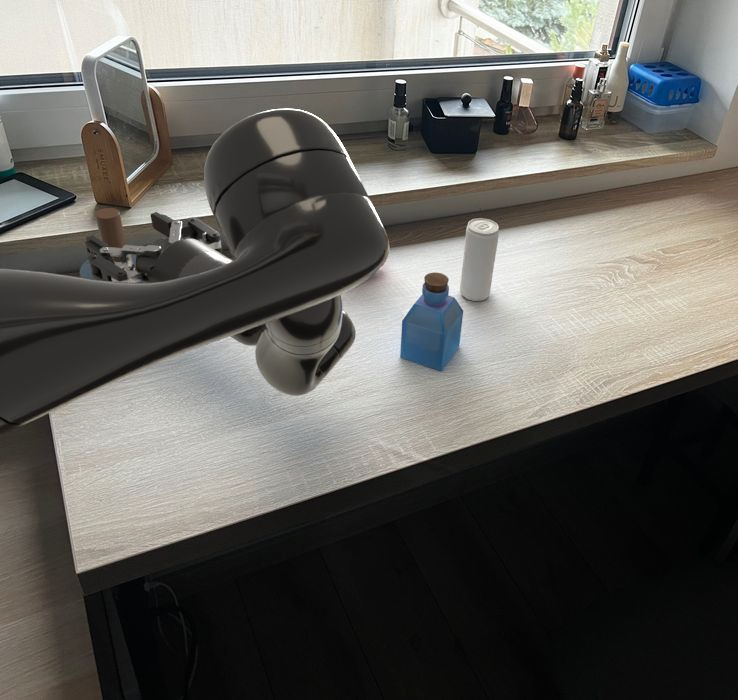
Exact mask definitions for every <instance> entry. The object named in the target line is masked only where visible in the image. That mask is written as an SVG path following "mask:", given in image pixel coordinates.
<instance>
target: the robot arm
mask: <svg viewBox="0 0 738 700" xmlns="http://www.w3.org/2000/svg"><path fill="white" fill-rule="evenodd" d="M203 186H204V191H205V195H206V198H207V202H208V206H209V208H210V211H211V212H212V215H213V217H214V219H215V221H216V223H217V225H218V228H219V230H220V232H221V233H220V232H219V231H217V230H216V229H214V228H212V227H211V226H209V225H208V224H206V223H205V222H203V221H202V220H200V219H199V218H197V217H193V216H192V217H188V218H187V221H185V222H183V221H181V220H179V219H173V218H171V217H169V216H168V215H166V214H162V213H160V212H157V211H155V212H152V213H150V220H151V225H152V228H153V229H154V230H156V231H157V232H159V233H160V234H162V235H163V236H165V237H166V238H164V237H162V238H159V239H157V240H155V241H153V242H151V243H147V244H144V245H132V244H127V245H124V246H123V247H122V248H114V247H109V245H107V244H106V243H104V242H103V241H101V238H98V237H97V236H95V235H93V234H91V235H87V236H85V240H86V241H84V244H85V248H86V252H87V255H88V256H87V260H89V262H90V266H91V269H92V275H93V277H94V278H96V279H98V280H94V279H87V278H81V277H80V276H74V275H67V274H60V273H54V272H53V273H52V272H46V271H39V270H38V271H36V270H26V269H18V268H16V269H15V268H0V436H2V435H4V434H6V433H9V432H11V431H13V430H15V429H17V428H20V427H23V426H25V425H26V424H29V423H31V422H33V421H36V420H38V419H40V418H41V417H44V416H46V415H48V414H50V413H52V412H54V411H56V410H59V409H61V408H62V407H65V406H67V405H69V404H71V403H73V402H75V401H78V400H80V399H82V398H84V397H86V396H89V395H91V394H93V393H95V392H98V391H99V390H101V389H103V388H106V387H108V386H110V385H112V384H114V383H117V382H119V381H122V380H123V379H125V378H128V377H131V376H132V375H134V374H137V373H139V372H142V371H143V370H145V369H149V368H150V367H153V366H155V365H157V364H161V363H162V362H164V361H168V360H170V359H172V358H175V357H177V356H180V355H182V354H185V353H188V352H190V351H193V350H196V349H198V348H201V347H204V346H207V345H210V344H212V343H216V342H219V341H221V340H224V339H227V338H229V337H230V338H232V339H233V340H235V341H237V343H240V344H242V345H245V346H250V347H255V351H254V353H255V354H254V355H255V361H256V365H257V369H258V370H259V373H260V375H261V376H262V377H263V379H264V380H265V381H266V382H267V384H269V385H270V386H271V387H272V388H273V389H275V391H278V392H280V393H281V394H284V395H286V396H291V397H301V396H302V397H303V396H305V395H308V394H310V393H311V392H313V391H314V390H315V389H316V388H317V387H318V386H320V384H321V383H322V382H323V381H324V379H325V378H326V377H327V376H328V374H330V372H331V371H332V370H333V369H334V367H335V366H336V365H337V364H339V362H340V361H341V359H343V357H344V356H345V355H346V354H347V353H348V351H349V350H350V349H351V348H352V346H353V345H354V343H355V340H356V334H357V332H356V327H355V324H354V321H353V320H352V317H350V315H349V314H348V313H347V312H346V311H345V310H344V301H343V294H344V293H346V292H348V291H350V290H352V289H354V288H357V286H359V285H361V284H362V283H364V282H365V281H367V280H368V279H370V278H371V277H372V276H374V275H375V274H376V273H377V272H378V271H379V270H380V269H381V268H382V267H383V266H384V265H385V263H386V262H387V260H386V259H388V258H387V257H389V254H390V249H391V246H390V239H389V237H388V234H387V230H386V229H385V227H384V225H383V223H382V221H381V218H380V217H379V214H378V212H377V209H375V206H374V204H373V202H372V201H371V198H370V197H369V194H368V193H367V190H366V188H365V186H364V184H363V182H362V181H361V177H360V176H359V174H358V173H357V169H355V166H354V164H353V162H352V159H351V157H350V155H349V154H348V152H347V150H346V148H345V147H344V144H343V143H342V142H341V140H340V138H339V137H338V136H337V134H336V133H335V132H334V130H333V129H332V128H331V127H330V126H329V125H328V124H327V123H326V122H325V121H324V120H323V119H321V118H319V117H318V116H316V115H314V114H313V113H312V112H311V113H310V112H308V111H304V110H303V109H302V110H301V109H295V108H277V109H270V110H269V109H268V110H266V111H262V112H258V113H254V114H252V115H249V116H247V117H245V118H243V119H241V120H240V121H238V122H236V123H234V124H232V125H231V126H230V127H229V128H227V129H226V130H224V131H223V132H222V133H221V135H219V137H218V138H217V139H216V140H215V141H214V143H213V144H212V146H211V148H210V150H208V153H207V155H206V158H205V162H204V165H203ZM221 235H222V237H223V239H224V242H225V243H226V246H227V247H228V250H229V252H230V255H231V257H232V259H231V258H229V257H227V256H225V255H224V254H223V253H222V252H223V249H222V247H223V246H222V239H221ZM131 255H136V265H134V264H133V261H132V257H131ZM113 256H114V257H119V258H120V259H121V262H114V257H113ZM385 261H386V262H385ZM384 262H385V263H384ZM383 264H384V265H383ZM382 265H383V266H382ZM140 280H141V281H143V282H148V283H136V282H138V281H140Z"/></svg>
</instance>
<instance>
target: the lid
mask: <svg viewBox="0 0 738 700" xmlns="http://www.w3.org/2000/svg"><path fill="white" fill-rule="evenodd" d="M94 216H95V221H96V225H97V229H98V234H99V237H100V240H101V241H103V242H104V243H106V244H107V245H109V247H114V248H122V247H123V246H124V245H128V244H127V240H126V236H125V235H126V234H125V231H124V225H123V221H122V217H121V213H120V210H119V209H117V208H114V207H106V208H104V207H103V208H101V209H98V210H96V211H95V213H94ZM113 257H114V256H113ZM131 257H132V261H133V264H134V265H136V255H131ZM114 262H121V259H120V258H119V257H114ZM79 277H81V278H87V279H94V280H98V279H96V278H94V277H93V275H92V269H91V266H90V262H89V260H88V259H87V260H85V262H83V264H82V265H81V266H80V268H79ZM136 283H148V282H143V281H141V280H140V281H138V282H136Z"/></svg>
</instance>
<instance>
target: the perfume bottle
mask: <svg viewBox="0 0 738 700" xmlns="http://www.w3.org/2000/svg"><path fill="white" fill-rule="evenodd" d="M449 279H450V278H449V277H448V276H447V275H446V274H444V273H442V272H429V273H427V274H425V275H424V278H423V281H424V282H423V284H422V289H421V295H420V296H419V297H418V298H417V300H416V301H415V302H414V303H413V305H412V306H411V307H410V309H409V310H408V312H407V313H406V314H405V316H404V317H403V319H402V320H401V332H400V333H401V336H400V352H399V358H401V359H404V360H407V361H409V362H413V363H415V364H419V365H422V366H424V367H428V368H431V369H433V370H436V371H439V372H442V371H443V370H444V369H445V367H446V366H447V364H448V363H449V362H450V360H451V359H452V358H453V356H454V355H455V354H456V352H457V350H458V349H459V348H460V345H461V336H462V335H461V334H462V327H463V318H464V309H463V307H461V305H460V304H459V302H458V300H457V299H456V298H455V296H452V295H449V293H450V286H449V282H450V280H449Z"/></svg>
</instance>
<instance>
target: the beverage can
mask: <svg viewBox="0 0 738 700" xmlns="http://www.w3.org/2000/svg"><path fill="white" fill-rule="evenodd" d="M499 229H500V227H499V224H498V223H497V222H496V221H494V220H492V219H489V218H485V217H484V218H483V217H479V218H473V219H470V220H469V221H468V222H467V226H466V230H465V237H464V238H465V239H464V247H463V256H462V257H463V259H462V265H461V266H462V267H461V275H460V285H459V292H460V294H461V295H462V297H464V298H465V299H467V300H468V301H472V302H481V301H484V300H486V299H488V297H490V294H491V289H492V282H493V273H494V267H495V262H496V255H497V249H498V243H499V235H500V230H499Z"/></svg>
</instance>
